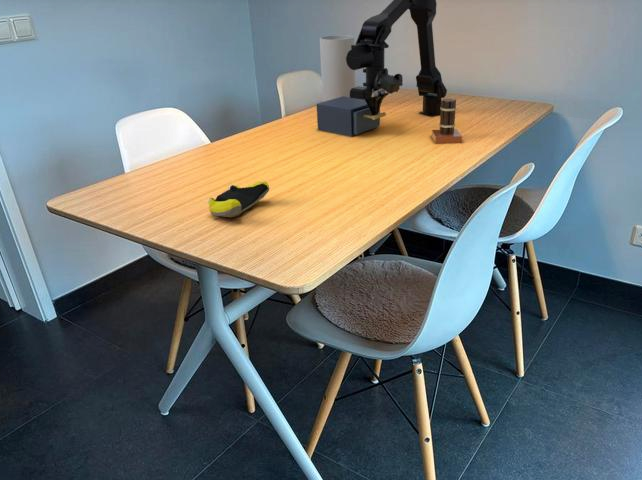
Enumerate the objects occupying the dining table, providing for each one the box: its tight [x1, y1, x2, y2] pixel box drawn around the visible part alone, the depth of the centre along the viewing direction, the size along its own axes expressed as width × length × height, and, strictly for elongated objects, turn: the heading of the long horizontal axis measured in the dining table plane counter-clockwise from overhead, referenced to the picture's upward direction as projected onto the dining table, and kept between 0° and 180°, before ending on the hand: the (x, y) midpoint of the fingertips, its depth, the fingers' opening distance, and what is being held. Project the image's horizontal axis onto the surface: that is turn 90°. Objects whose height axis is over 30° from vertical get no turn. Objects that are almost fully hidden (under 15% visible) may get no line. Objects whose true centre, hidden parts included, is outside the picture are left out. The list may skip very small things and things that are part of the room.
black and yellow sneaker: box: [206, 181, 270, 218], centre depth 125 cm, size 15×6×10 cm
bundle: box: [438, 97, 457, 135], centre depth 169 cm, size 5×5×10 cm
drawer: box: [352, 107, 387, 135], centre depth 181 cm, size 18×12×7 cm
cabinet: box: [316, 96, 378, 138], centre depth 184 cm, size 15×14×9 cm
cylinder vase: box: [319, 34, 356, 102], centre depth 206 cm, size 12×12×25 cm
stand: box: [431, 128, 463, 144], centre depth 172 cm, size 8×8×2 cm
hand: (375, 116), depth 177 cm, fingers closed
